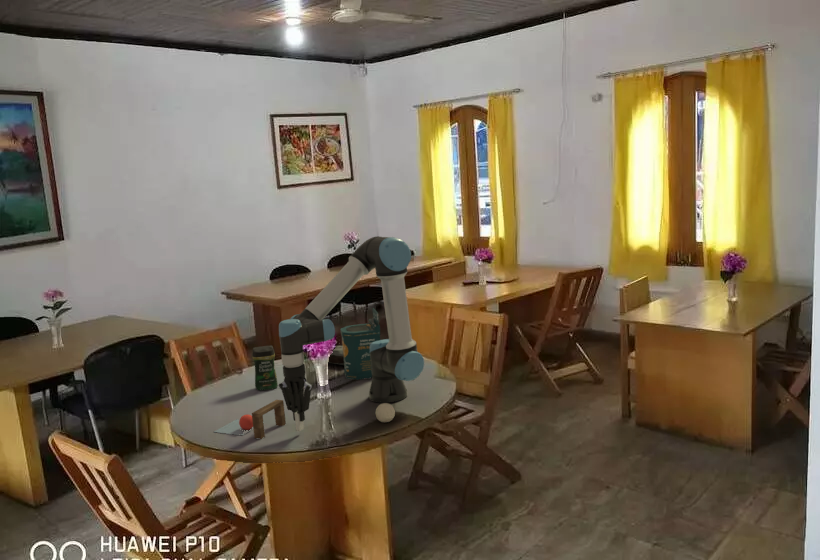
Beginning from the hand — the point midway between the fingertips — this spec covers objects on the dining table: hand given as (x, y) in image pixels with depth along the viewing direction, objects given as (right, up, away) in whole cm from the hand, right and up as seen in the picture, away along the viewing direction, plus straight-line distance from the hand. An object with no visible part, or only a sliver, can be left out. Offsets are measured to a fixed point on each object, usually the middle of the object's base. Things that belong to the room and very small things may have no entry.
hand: (300, 429), depth 245 cm
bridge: (-12, -2, +6) cm, 13 cm away
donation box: (+17, +10, +69) cm, 71 cm away
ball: (-21, +1, +9) cm, 23 cm away
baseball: (+30, +1, +7) cm, 31 cm away
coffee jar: (-23, +5, +58) cm, 62 cm away
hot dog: (+6, +12, +86) cm, 88 cm away
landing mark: (-24, -2, +12) cm, 27 cm away
